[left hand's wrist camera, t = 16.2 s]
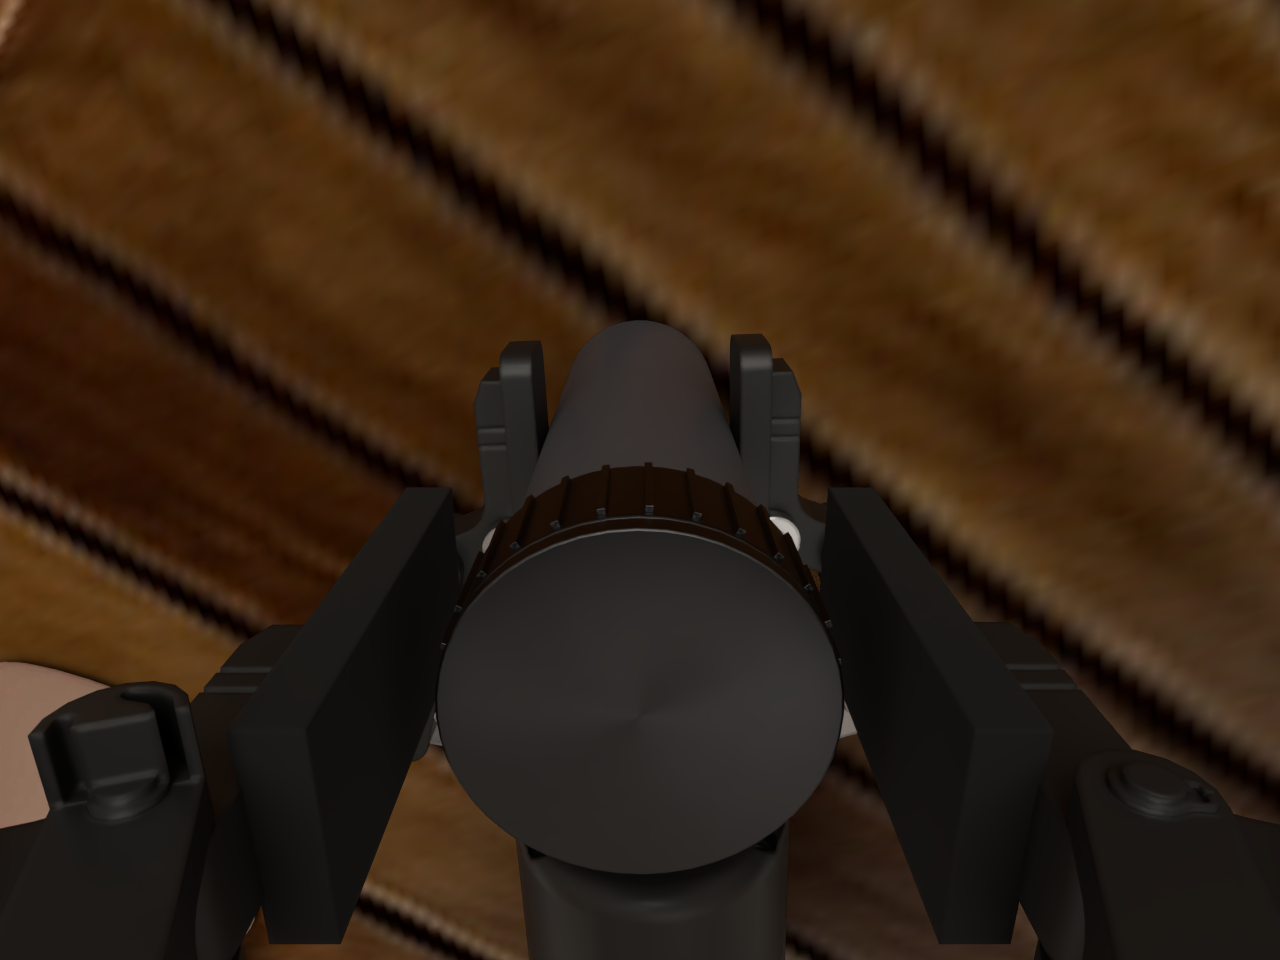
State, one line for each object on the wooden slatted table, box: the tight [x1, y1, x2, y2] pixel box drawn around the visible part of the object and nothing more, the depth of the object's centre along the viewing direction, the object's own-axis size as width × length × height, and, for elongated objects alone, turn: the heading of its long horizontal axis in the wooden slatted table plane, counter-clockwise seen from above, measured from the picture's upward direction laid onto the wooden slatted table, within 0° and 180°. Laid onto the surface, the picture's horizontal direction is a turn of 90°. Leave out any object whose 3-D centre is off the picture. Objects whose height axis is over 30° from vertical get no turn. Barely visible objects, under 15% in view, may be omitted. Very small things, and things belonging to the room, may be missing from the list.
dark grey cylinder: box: [521, 320, 758, 508], centre depth 18 cm, size 4×4×16 cm
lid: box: [435, 462, 844, 874], centre depth 11 cm, size 5×5×2 cm
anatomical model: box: [0, 662, 255, 934], centre depth 29 cm, size 13×4×12 cm
